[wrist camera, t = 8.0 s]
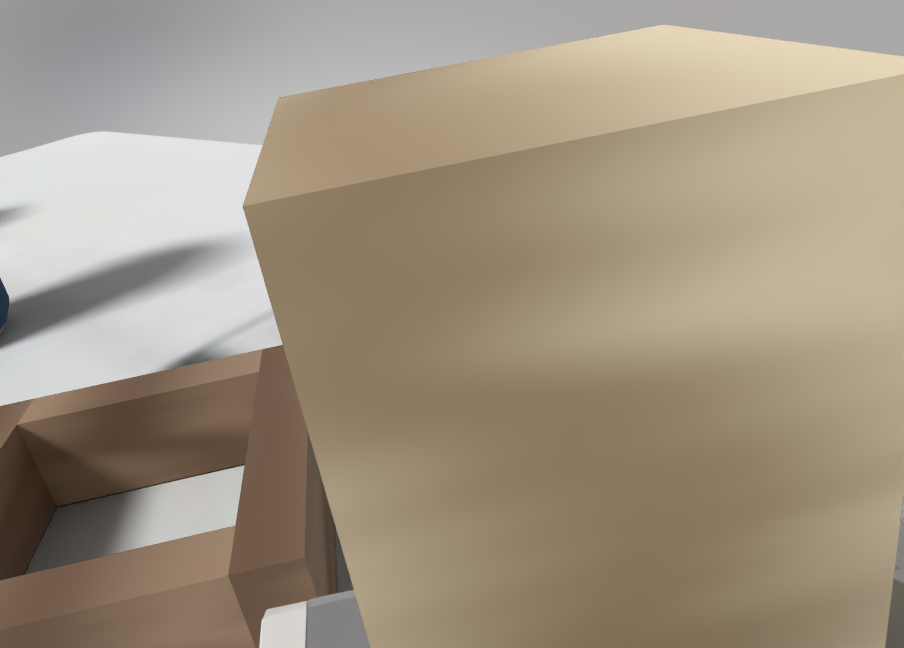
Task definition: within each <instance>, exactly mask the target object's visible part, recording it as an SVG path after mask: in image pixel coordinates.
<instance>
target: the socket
mask: <svg viewBox="0 0 904 648" xmlns="http://www.w3.org/2000/svg"><path fill="white" fill-rule="evenodd" d="M242 464H245V467H244V473H243V480H242V487H241V493H240V500H239V506H238V513H237V520H236V526H232V527H227V528H223V529H219V530H214V531H210V532H206V533H202V534H197V535H193V536H189V537H184V538H180V539H176V540H172V541H167V542H163V543H159V544H154V545H150V546H146V547H141V548H137V549H133V550H129V551H124V552H120V553H116V554H111V555H107V556H103V557H99V558H94V559H90V560H86V561H81V562H77V563H73V564H69V565H64V566H60V567H56V568H51V569H47V570H43V571H38V572H34V573H30V574H26V575H23V574H24V572H25V570H26V568H27V566H28V564H29V562H30V560H31V558H32V556H33V554H34V552H35V550H36V548H37V546H38V544H39V542H40V540H41V538H42V536H43V534H44V532H45V530H46V528H47V526H48V524H49V522H50V519H51V517H52V515H53V513H54V511H55V509H56V507H58V506H62V505H66V504H71V503H75V502H80V501H84V500H88V499H93V498H97V497H102V496H106V495H110V494H115V493H119V492H124V491H128V490H132V489H137V488H141V487H146V486H150V485H154V484H159V483H163V482H168V481H172V480H176V479H181V478H185V477H190V476H194V475H198V474H203V473H207V472H212V471H216V470H220V469H225V468H229V467H234V466H238V465H242ZM336 593H337V578H336V545H335V523H334V520H333V516H332V513H331V509H330V506H329V502H328V499H327V495H326V492H325V488H324V485H323V482H322V478H321V475H320V471H319V468H318V464H317V461H316V457H315V454H314V450H313V447H312V444H311V440H310V437H309V433H308V430H307V426H306V423H305V419H304V416H303V412H302V409H301V406H300V402H299V399H298V395H297V392H296V388H295V385H294V381H293V378H292V374H291V371H290V368H289V364H288V361H287V357H286V354H285V350H284V347H283V345H280V346H276V347H271V348H267V349H262V350H257V351H253V352H248V353H243V354H239V355H234V356H230V357H225V358H220V359H216V360H211V361H206V362H202V363H197V364H193V365H188V366H183V367H179V368H174V369H169V370H165V371H160V372H156V373H151V374H146V375H142V376H137V377H133V378H128V379H123V380H119V381H114V382H109V383H105V384H100V385H96V386H91V387H86V388H82V389H77V390H72V391H68V392H63V393H59V394H54V395H49V396H45V397H40V398H35V399H31V400H26V401H22V402H17V403H12V404H8V405H3V406H0V648H259V644H260V633H261V622H262V619H263V617H264V614H265V612H266V610H267V609H271V608H276V607H280V606H285V605H290V604H295V603H299V602H304V601H309V600H310V599H313V598H317V597H322V596H327V595H331V594H336Z"/></svg>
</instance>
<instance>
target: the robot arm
mask: <svg viewBox="0 0 904 648" xmlns="http://www.w3.org/2000/svg"><path fill="white" fill-rule="evenodd" d="M259 648H371V647H370V644H369V640H368V637H367V633H366V630H365V627H364V623H363V620H362V616H361V613H360V609H359V606H358V602H357V599H356V595H355V592H354V590H350V591H345V592H340V593H336V594H331V595H327V596H322V597H317V598H313V599H310V600H309V601H304V602H299V603H295V604H290V605H285V606H280V607H276V608H271V609H267V610H266V612H265V614H264V617H263V619H262V622H261V633H260V644H259ZM885 648H904V523H903V522H902V521H900V530H899V538H898V546H897V554H896V562H895V571H894V579H893V587H892V595H891V603H890V612H889V620H888V628H887V636H886V644H885Z"/></svg>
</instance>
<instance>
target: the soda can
mask: <svg viewBox="0 0 904 648" xmlns="http://www.w3.org/2000/svg"><path fill="white" fill-rule="evenodd" d="M8 308H9V296H8V294H7V292H6V289H5V287H4V285H3V283H2V281H1V278H0V335H1V334H2V332H3V331H4V329H5V324H6V319H7V314H8Z"/></svg>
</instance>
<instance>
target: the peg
mask: <svg viewBox="0 0 904 648" xmlns="http://www.w3.org/2000/svg"><path fill="white" fill-rule="evenodd" d="M243 209H244V212H245V216H246V219H247V223H248V226H249V229H250V233H251V236H252V240H253V243H254V247H255V250H256V254H257V257H258V261H259V264H260V267H261V271H262V274H263V278H264V281H265V285H266V288H267V292H268V295H269V299H270V302H271V305H272V309H273V312H274V316H275V319H276V323H277V326H278V330H279V333H280V336H281V340H282V343H283V347H284V350H285V354H286V357H287V361H288V364H289V368H290V371H291V374H292V378H293V381H294V385H295V388H296V392H297V395H298V399H299V402H300V406H301V409H302V412H303V416H304V419H305V423H306V426H307V430H308V433H309V437H310V440H311V444H312V447H313V450H314V454H315V457H316V461H317V464H318V468H319V471H320V475H321V478H322V482H323V485H324V488H325V492H326V495H327V499H328V502H329V506H330V509H331V513H332V516H333V520H334V523H335V526H336V530H337V533H338V537H339V540H340V544H341V547H342V551H343V554H344V557H345V561H346V564H347V568H348V571H349V575H350V578H351V582H352V585H353V589H354V592H355V595H356V599H357V602H358V606H359V609H360V613H361V616H362V620H363V623H364V627H365V630H366V633H367V637H368V640H369V644H370V647H371V648H885V644H886V636H887V628H888V620H889V612H890V603H891V595H892V587H893V579H894V571H895V562H896V554H897V546H898V538H899V530H900V521H901V513H902V505H903V497H904V57H903V56H895V55H887V54H880V53H873V52H865V51H858V50H850V49H843V48H835V47H828V46H820V45H813V44H805V43H797V42H790V41H783V40H775V39H768V38H760V37H752V36H745V35H738V34H730V33H722V32H715V31H707V30H700V29H692V28H685V27H677V26H670V25H660V26H655V27H649V28H645V29H639V30H634V31H629V32H623V33H617V34H612V35H607V36H602V37H596V38H592V39H586V40H581V41H575V42H570V43H565V44H559V45H554V46H549V47H544V48H538V49H533V50H528V51H523V52H517V53H512V54H507V55H501V56H497V57H491V58H486V59H481V60H475V61H470V62H465V63H460V64H455V65H449V66H443V67H439V68H433V69H428V70H423V71H417V72H412V73H406V74H401V75H396V76H391V77H385V78H380V79H375V80H369V81H364V82H359V83H354V84H349V85H344V86H338V87H333V88H327V89H322V90H317V91H312V92H306V93H301V94H296V95H290V96H285V97H280V98H278V101H277V104H276V107H275V110H274V113H273V116H272V120H271V122H270V126H269V128H268V131H267V134H266V138H265V141H264V144H263V147H262V150H261V153H260V156H259V159H258V162H257V165H256V168H255V171H254V174H253V177H252V180H251V183H250V186H249V189H248V192H247V195H246V198H245V201H244V204H243Z"/></svg>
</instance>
